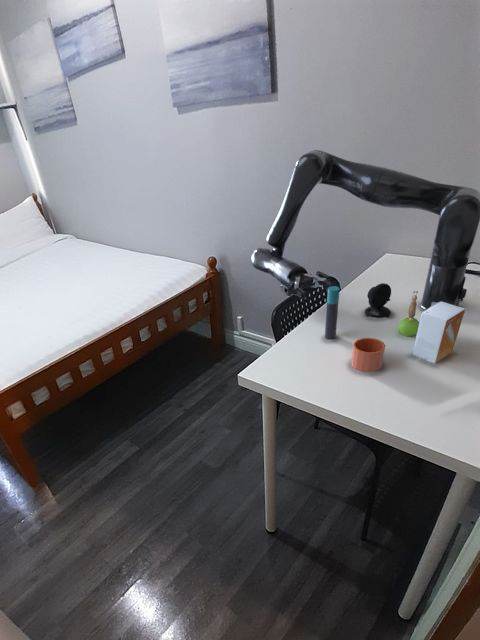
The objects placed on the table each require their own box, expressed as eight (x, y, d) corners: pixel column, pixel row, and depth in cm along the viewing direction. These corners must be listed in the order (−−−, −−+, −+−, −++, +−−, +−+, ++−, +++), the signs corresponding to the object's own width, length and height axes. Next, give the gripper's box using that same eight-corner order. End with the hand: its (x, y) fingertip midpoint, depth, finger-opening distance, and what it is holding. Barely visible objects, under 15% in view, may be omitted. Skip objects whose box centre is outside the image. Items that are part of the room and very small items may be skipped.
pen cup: (369, 355, 109) (372, 334, 106) (388, 369, 104) (392, 347, 100) (345, 363, 108) (347, 342, 104) (363, 377, 102) (366, 356, 98)
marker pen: (331, 335, 120) (335, 285, 110) (337, 340, 118) (342, 288, 108) (322, 338, 119) (325, 287, 110) (328, 342, 117) (332, 291, 107)
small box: (434, 366, 102) (446, 320, 94) (411, 356, 106) (420, 312, 99) (453, 353, 105) (466, 308, 97) (429, 344, 110) (440, 300, 102)
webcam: (377, 306, 130) (381, 276, 124) (396, 314, 124) (401, 284, 118) (358, 313, 128) (362, 284, 122) (377, 322, 122) (381, 292, 116)
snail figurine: (418, 329, 116) (427, 291, 109) (418, 341, 111) (427, 301, 104) (397, 328, 118) (404, 290, 111) (396, 339, 114) (403, 300, 106)
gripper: (269, 268, 126) (296, 286, 113) (309, 257, 128) (340, 273, 116) (270, 290, 130) (296, 310, 118) (309, 279, 133) (338, 297, 120)
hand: (318, 291), depth 117 cm, fingers open, 8 cm apart
